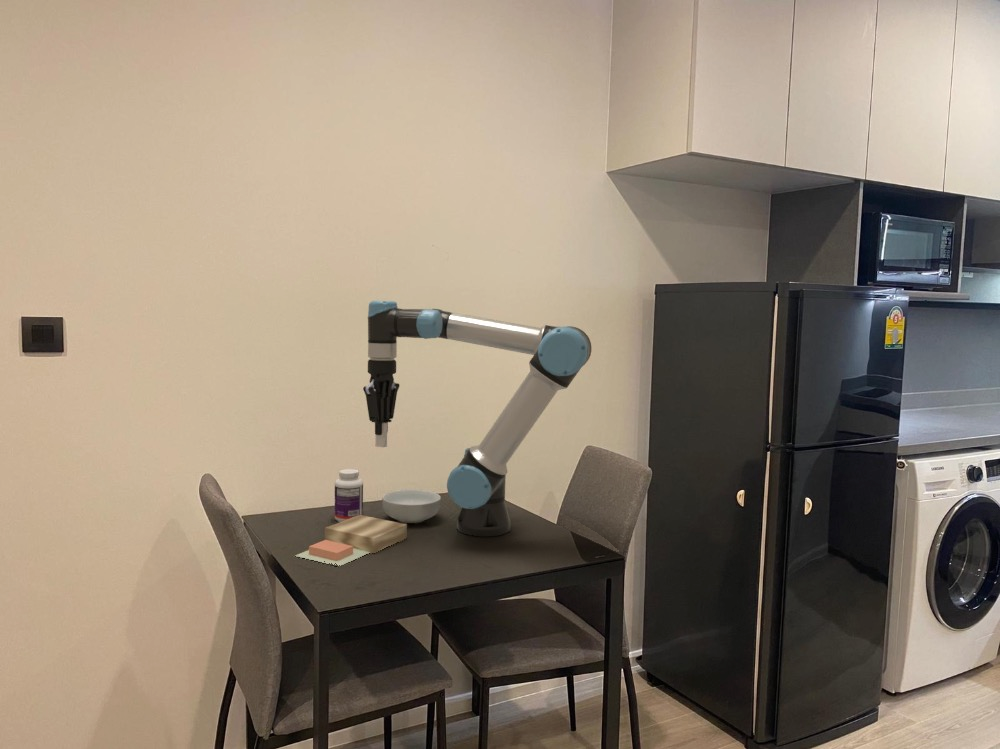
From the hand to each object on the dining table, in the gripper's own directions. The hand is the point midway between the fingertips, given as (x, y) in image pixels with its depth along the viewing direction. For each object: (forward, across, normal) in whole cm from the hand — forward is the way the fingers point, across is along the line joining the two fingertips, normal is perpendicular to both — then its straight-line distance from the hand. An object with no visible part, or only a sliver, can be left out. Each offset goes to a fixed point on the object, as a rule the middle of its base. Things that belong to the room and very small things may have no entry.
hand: (381, 446), depth 195 cm
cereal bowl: (+25, -16, -1) cm, 29 cm away
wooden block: (+24, +6, 0) cm, 25 cm away
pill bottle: (+25, -6, -16) cm, 30 cm away
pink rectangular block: (+22, +19, 0) cm, 29 cm away
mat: (+24, +19, 0) cm, 31 cm away
